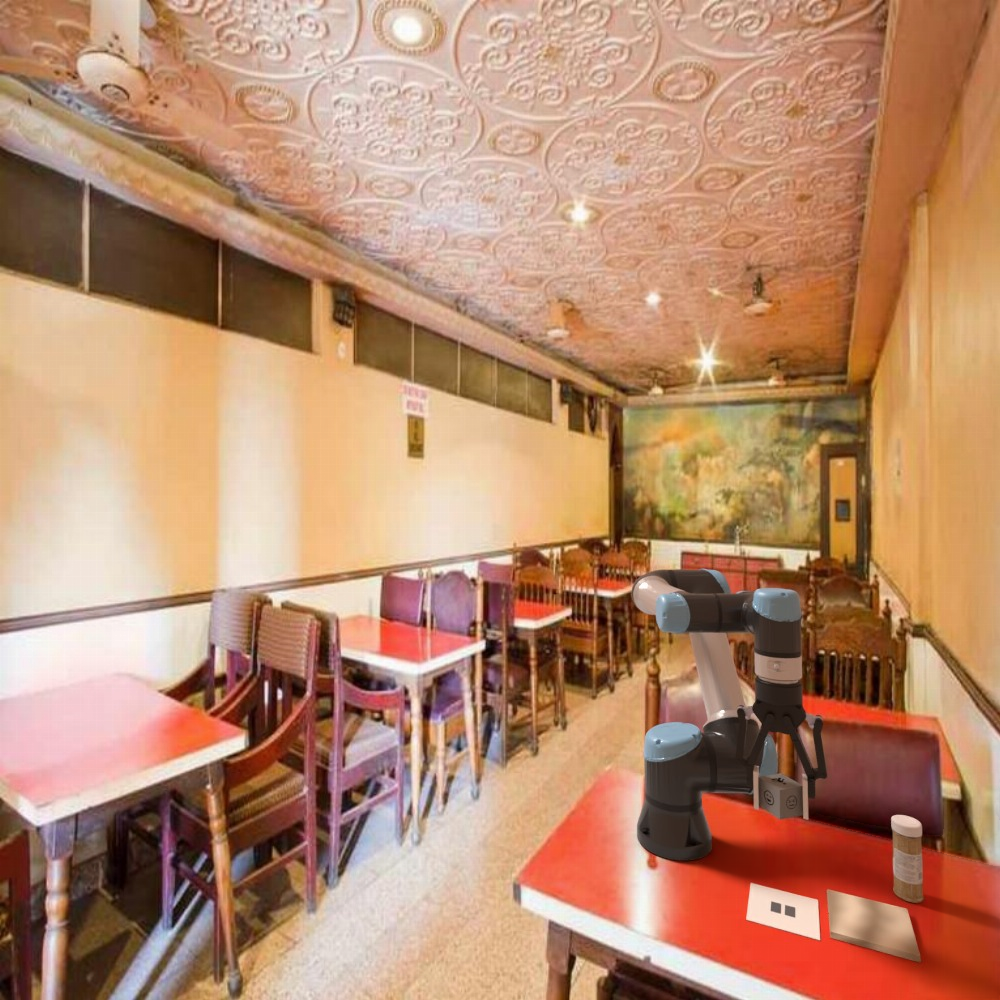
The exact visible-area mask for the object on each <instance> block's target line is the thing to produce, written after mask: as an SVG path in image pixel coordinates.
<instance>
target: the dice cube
mask: <svg viewBox="0 0 1000 1000" xmlns="http://www.w3.org/2000/svg"><path fill="white" fill-rule="evenodd" d="M759 808H762V809H763V810H765V811H766V812H767V813H769V814H771V815H772V816H774V817H776V818H777V819H778V820H785V819H791V818H796V817H801V816H802V817H803V784H801V783H799V782H798V781H796V780H794V779H792V778H790V777H789V776H787V775H785V774H783V773H781V772H780V773H777V774H773V775H768V776H762V777H759Z"/></svg>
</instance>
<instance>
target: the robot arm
mask: <svg viewBox="0 0 1000 1000" xmlns="http://www.w3.org/2000/svg"><path fill="white" fill-rule="evenodd" d="M630 593H631V599H632V602H633V604H634V605H635V607H636V608H637V609H638V610H640V611H641V612H642V613H644V614H646V615H649V616H650V615H652V616H655V619H656V624H657V627H658V629H659V630H660V631H661V632H663V633H672V634H678V635H679V634H680V635H681V634H686V633H687V634H688V635H689V640H690V643H691V648H692V653H693V657H694V662H695V667H696V672H697V675H698V681H699V686H700V690H701V693H702V699H703V704H704V708H705V712H706V718H707V720H706V721H705V723H704V724H703V726H702V731H701V729H700V728H699V727H698V726H697V725H695V724H693V723H689V722H688V723H684V722H681V721H672V722H664V723H660V724H656V725H655V726H653V727H651V728H650V729H648V731H647V732H646V734H645V737H644V746H643V751H642V753H643V757H644V758H643V759H644V762H643V764H644V767H643V768H644V801H643V804H642V806H641V807H642V808H641V810H640V813H639V817H638V820H637V824H636V837H637V840H638V842H639V844H640V845H641V846H642V847H643V848H644V849H646V850H647V852H650V853H652V854H654V855H656V856H658V857H662V858H664V859H667V860H673V861H694V860H698V859H703V858H704V857H706V856H707V855H708V854H709V853H711V851H712V848H713V841H712V839H713V838H712V837H713V836H712V832H711V828H710V826H709V823H708V820H707V817H706V814H705V811H704V808H703V794H704V793H706V794H711V793H712V794H747V795H753V809H754V810H758V811H759V810H760V809H759V808H760V806H759V777H762V776H768V775H773V774H778V770H779V769H778V768H779V767H778V766H779V765H778V764H779V759H778V751H777V746H776V743H775V740H774V739H773V737H772V735H771V734H770V733H774V734H775V733H780V734H783V735H789V737H790V740H791V741H792V744H793V747H794V749H795V751H796V754H797V756H798V758H799V761H800V764H801V765H802V768H803V770H804V772H805V773H802V774H801V775H802V776H801V777H802V785H803V815H802V817H803V819H804V820H807V821H808V820H809V799H812V800H815V798H816V780H819V779H822V780H823V779H824V780H825V779H827V777H828V773H827V772H828V770H827V765H826V758H825V757H826V756H825V752H824V745H823V738H822V730H823V727H824V719H823V717H822V716H821V715H820V714H816V715H814V714H811V713H808V712H807V711H806V710H805V708H804V702H803V701H804V698H803V695H804V693H803V683H802V682H801V679H803V660H802V659H803V658H802V657H803V656H802V615H803V613H802V611H803V610H802V608H801V597H800V594H799V593H798V592H797V591H796V590H794V589H793V590H792V589H785V588H779V587H764V588H763V587H761V588H757V589H756V590H755V591H752V590H750V591H749V590H741V591H737V592H735V593H734V592H733V593H732V589H731V587H730V584H729V582H728V580H727V578H726V576H725V575H724V574H723V573H722V572H720V571H719V570H715V569H706V568H699V569H657V570H652V571H649V572H646V573H644V574H642V575H641V576H639V577H638V578H637V579H636V580H635V582H634V583H633V585H632V588H631V591H630ZM728 634H752V635H753V641H754V642H753V645H754V647H753V648H754V651H753V652H754V673H755V675H756V677H755V678H754V697H755V698H754V702H753V705H749V706H746V702H745V699H744V695H743V691H742V688H741V682H740V680H739V676H738V672H737V668H736V665H735V662H734V656H733V653H732V649H731V646H730V643H729V639H728ZM753 714H754V715H755V717H756V719H757V720H758V721H759V722H760V724H761V725H760V726H759V723H758V721H757V720H756V719H755V718H754V717H752V715H753ZM805 721H806V722H807V723H808V728H810V729H811V730H812V736H813V737H812V738H813V745H814V752H815V757H816V763H817V764H816V765H817V767H815V768H814V766H813V763H812V760H811V759H810V757H809V755H808V751H807V749H806V747H805V745H804V743H803V740H802V738H801V734H800V732H799V729H798V728H799V727H800V726H801V725H802V724H803V722H805Z"/></svg>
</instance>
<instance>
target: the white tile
mask: <svg viewBox="0 0 1000 1000" xmlns="http://www.w3.org/2000/svg"><path fill="white" fill-rule="evenodd" d="M749 886H750V887H749V895H748V902H747V910H746V917H745V918H746V919H745V920H746V921H749V922H752V923H755V924H759V925H763V926H766V927H769V928H774V929H777V930H779V931H785V932H788V933H791V934H795V935H797V936H798V935H799V936H802V937H805V938H809V939H813V940H816V941H821V931H820V913H819V900H818V899H816V898H811V897H808V896H804V895H799V894H795V893H791V892H788V891H785V890H784V891H783V890H780V889H777V888H772V887H768V886H765V885H760V884H757V883H753V882H750V885H749Z"/></svg>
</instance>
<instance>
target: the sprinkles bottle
mask: <svg viewBox="0 0 1000 1000" xmlns="http://www.w3.org/2000/svg"><path fill="white" fill-rule="evenodd" d="M890 821H891V822H890V824H891V831H892V873H893V887H892V888H893V892H894V894H895V896H897V897H898V898H899V899H902V900H903V901H905V902H908V903H915V904H918V903H922V902H923V901H924V900H925V899H924V895H923V891H924V889H923V888H924V887H923V882H924V881H923V880H924V878H923V876H924V874H923V851H922V837H923V825H922V823H921V822H920V821H919V820H918V819H916V818H914V817H913V816H908V815H904V814H895V815H892V816H891V818H890Z"/></svg>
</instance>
